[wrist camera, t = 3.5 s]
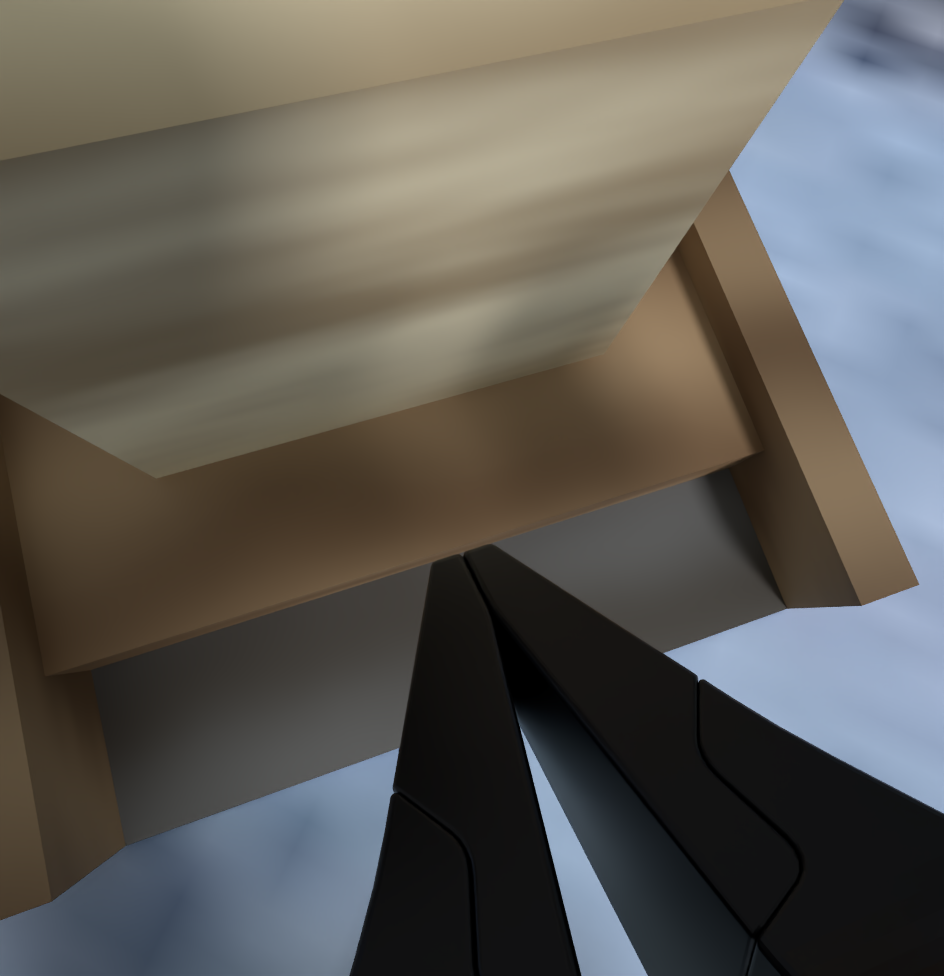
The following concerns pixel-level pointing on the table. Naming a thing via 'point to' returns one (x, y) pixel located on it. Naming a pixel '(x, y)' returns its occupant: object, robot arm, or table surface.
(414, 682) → the robot arm
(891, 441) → the table surface
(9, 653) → the trap lane
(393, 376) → the birch block
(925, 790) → the table surface
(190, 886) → the table surface
